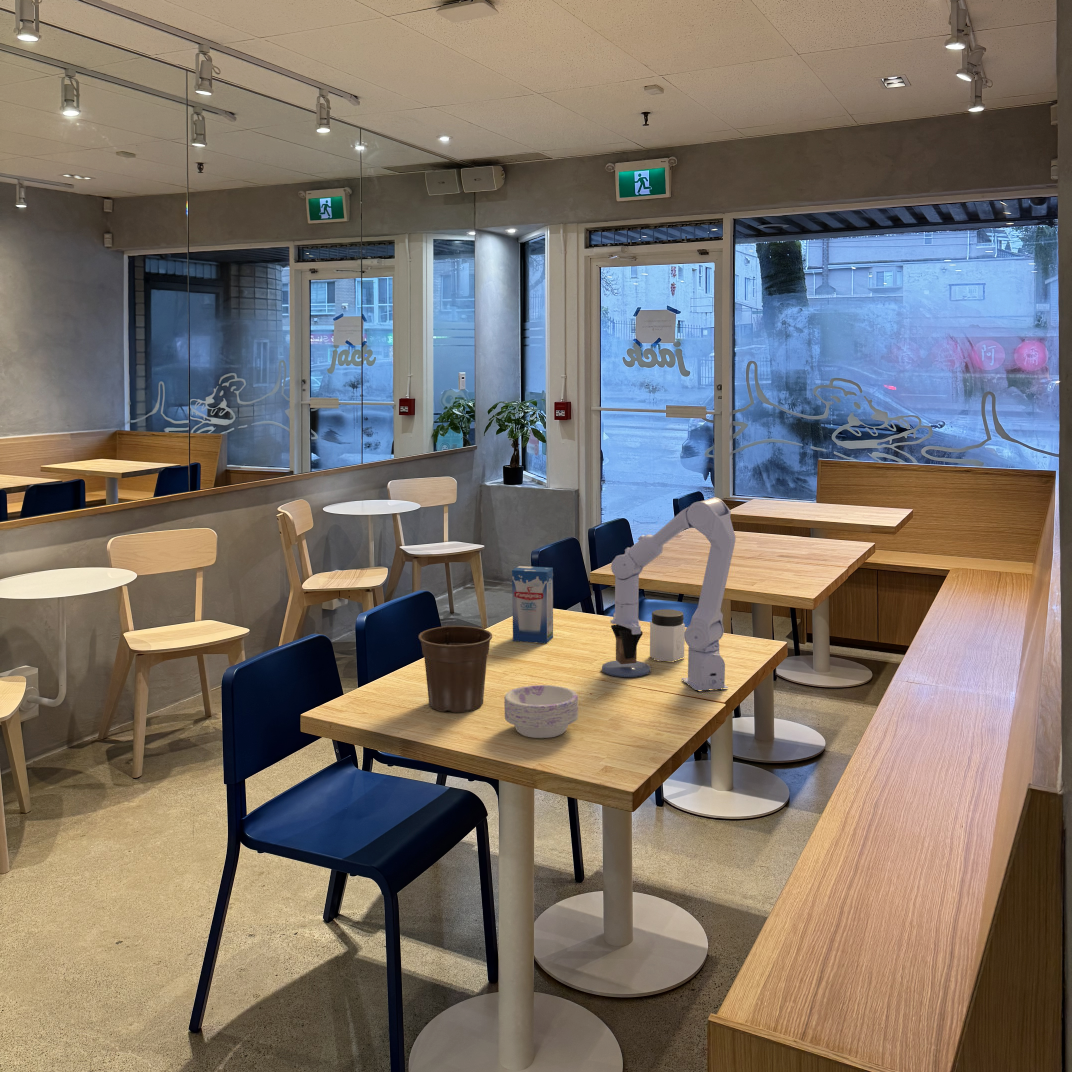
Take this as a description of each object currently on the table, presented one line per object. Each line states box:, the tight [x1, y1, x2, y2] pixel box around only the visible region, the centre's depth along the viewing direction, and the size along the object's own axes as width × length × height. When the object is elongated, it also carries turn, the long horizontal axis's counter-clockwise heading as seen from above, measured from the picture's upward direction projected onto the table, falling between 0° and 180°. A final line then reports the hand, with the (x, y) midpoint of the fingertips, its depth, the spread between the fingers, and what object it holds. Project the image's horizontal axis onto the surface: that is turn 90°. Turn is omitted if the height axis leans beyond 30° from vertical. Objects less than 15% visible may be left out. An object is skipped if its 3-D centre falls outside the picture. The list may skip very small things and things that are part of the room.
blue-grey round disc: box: [601, 659, 651, 678], centre depth 247 cm, size 12×12×1 cm
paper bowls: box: [503, 684, 579, 739], centre depth 205 cm, size 15×15×8 cm
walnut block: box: [615, 636, 638, 664], centre depth 246 cm, size 4×4×6 cm
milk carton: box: [511, 565, 554, 644], centre depth 275 cm, size 10×6×20 cm, turn 73°
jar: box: [649, 608, 686, 662], centre depth 257 cm, size 9×8×12 cm
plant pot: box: [418, 625, 493, 714], centre depth 221 cm, size 16×16×16 cm
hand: (626, 655), depth 246 cm, fingers closed on walnut block, 4 cm apart
